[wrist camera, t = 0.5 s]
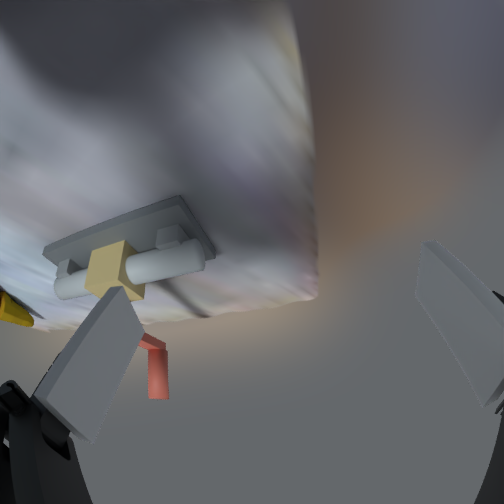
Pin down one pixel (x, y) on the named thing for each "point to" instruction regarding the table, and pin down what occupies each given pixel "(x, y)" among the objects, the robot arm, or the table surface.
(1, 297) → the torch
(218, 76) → the table surface
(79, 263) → the valve base
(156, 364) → the lever
